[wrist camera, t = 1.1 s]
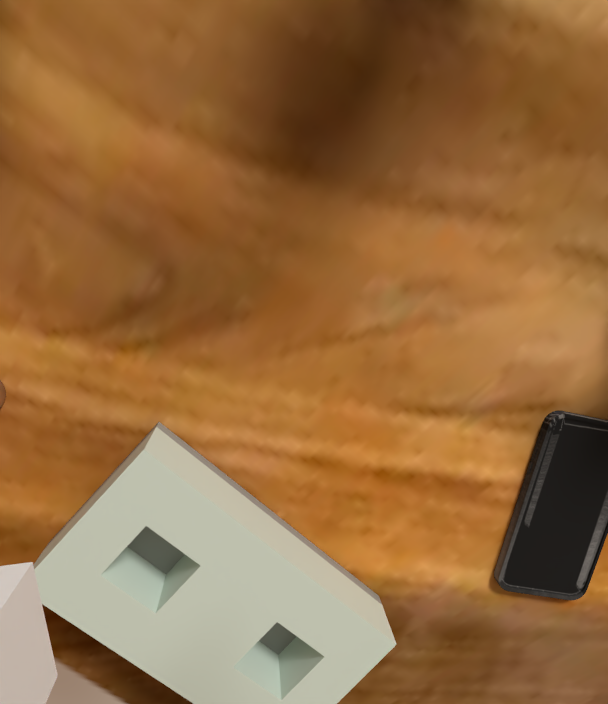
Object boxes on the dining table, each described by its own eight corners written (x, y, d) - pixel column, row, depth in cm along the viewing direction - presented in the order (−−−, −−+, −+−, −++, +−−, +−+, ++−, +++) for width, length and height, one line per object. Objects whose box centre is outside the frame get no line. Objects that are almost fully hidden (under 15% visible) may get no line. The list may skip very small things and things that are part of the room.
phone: (645, 429, 38) (582, 602, 41) (634, 425, 39) (574, 593, 42) (552, 410, 37) (493, 589, 40) (543, 406, 38) (487, 580, 41)
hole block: (49, 542, 36) (17, 587, 31) (159, 421, 35) (144, 449, 30) (276, 699, 41) (279, 760, 36) (378, 596, 40) (396, 644, 35)
